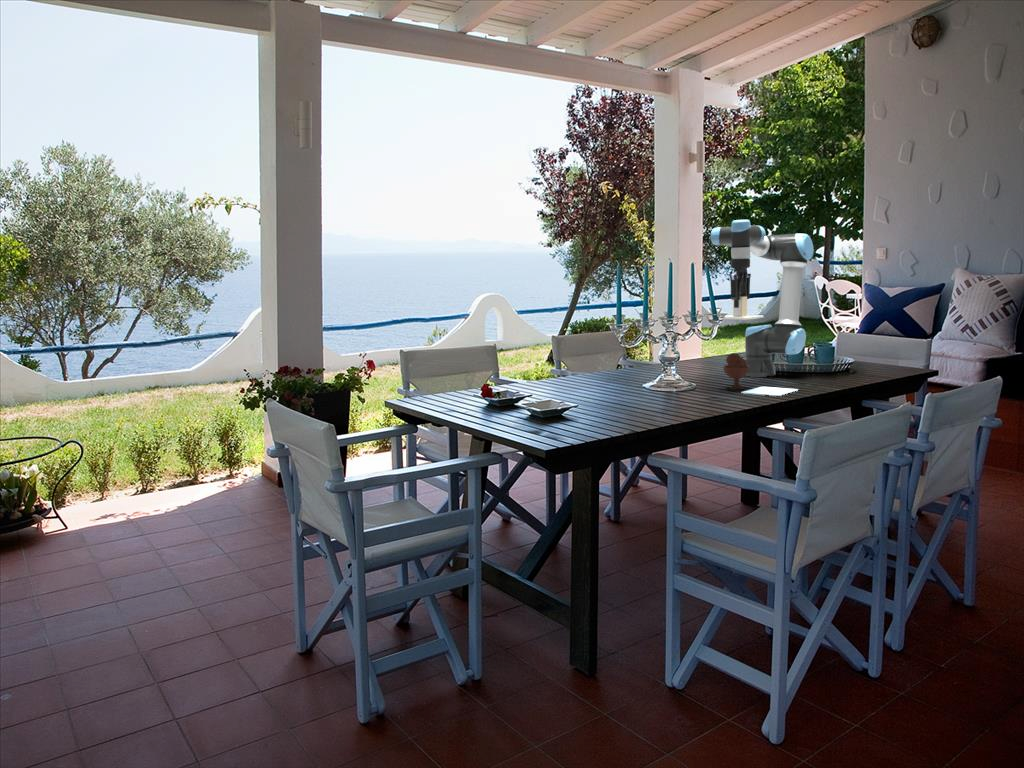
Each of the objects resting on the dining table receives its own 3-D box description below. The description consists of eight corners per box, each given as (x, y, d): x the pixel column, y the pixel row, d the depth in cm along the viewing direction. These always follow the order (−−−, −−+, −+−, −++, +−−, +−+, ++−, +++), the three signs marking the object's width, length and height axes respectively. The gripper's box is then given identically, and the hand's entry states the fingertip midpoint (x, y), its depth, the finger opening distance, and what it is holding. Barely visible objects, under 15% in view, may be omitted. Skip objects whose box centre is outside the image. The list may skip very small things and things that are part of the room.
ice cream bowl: (744, 391, 348) (744, 354, 346) (718, 389, 355) (718, 353, 353) (754, 387, 357) (754, 352, 354) (728, 386, 363) (729, 351, 361)
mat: (761, 387, 355) (761, 386, 355) (798, 390, 345) (798, 389, 345) (741, 393, 342) (741, 392, 342) (779, 396, 332) (779, 395, 331)
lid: (733, 316, 360) (733, 295, 359) (763, 317, 350) (764, 296, 349) (716, 318, 350) (716, 297, 349) (747, 319, 340) (747, 297, 339)
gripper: (742, 258, 356) (742, 314, 359) (721, 258, 343) (721, 316, 347) (759, 257, 350) (758, 314, 354) (738, 258, 338) (738, 316, 341)
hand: (740, 315), depth 350 cm, fingers closed on lid, 4 cm apart
